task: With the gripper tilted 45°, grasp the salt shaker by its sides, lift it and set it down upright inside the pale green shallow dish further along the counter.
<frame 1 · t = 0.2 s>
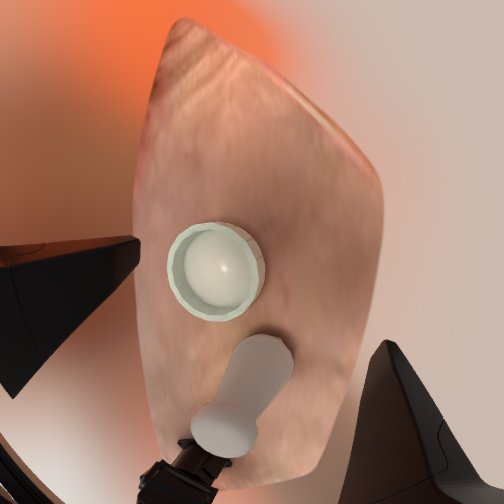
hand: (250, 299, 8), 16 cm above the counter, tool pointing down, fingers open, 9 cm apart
pale green shallow dish: (220, 268, 26), on the counter
salt shaker: (268, 350, 26), on the counter
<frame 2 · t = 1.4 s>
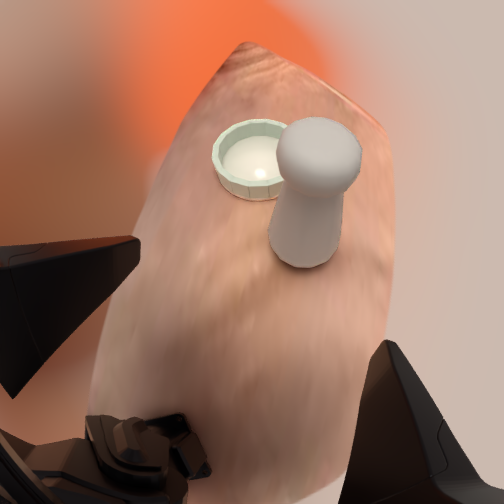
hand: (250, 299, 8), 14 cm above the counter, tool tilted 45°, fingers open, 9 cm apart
pale green shallow dish: (259, 164, 27), on the counter
salt shaker: (301, 244, 24), on the counter
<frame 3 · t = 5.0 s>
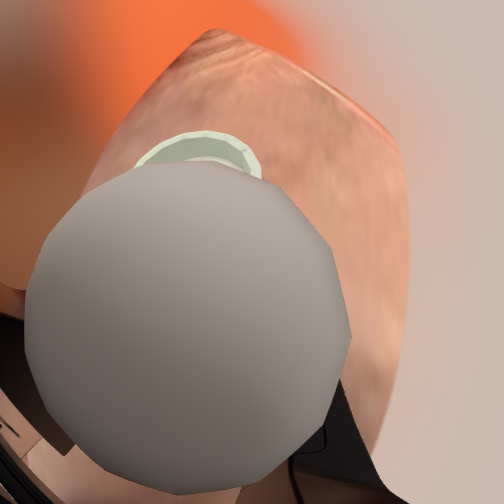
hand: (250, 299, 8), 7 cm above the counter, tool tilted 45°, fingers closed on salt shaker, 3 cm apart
pale green shallow dish: (196, 204, 18), on the counter
salt shaker: (250, 344, 14), on the counter, touching gripper
when the fingers open (8 cm above the counter, at t = 8.5 s): salt shaker stays where it is, resting on pale green shallow dish.
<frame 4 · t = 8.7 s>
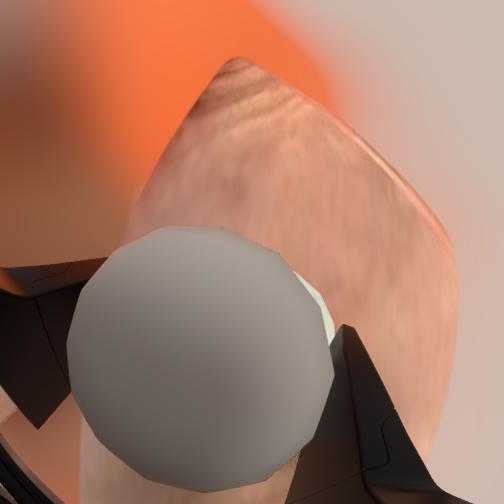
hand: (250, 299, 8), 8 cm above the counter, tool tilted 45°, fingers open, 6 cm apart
pale green shallow dish: (252, 344, 16), on the counter
salt shaker: (254, 351, 15), resting on pale green shallow dish
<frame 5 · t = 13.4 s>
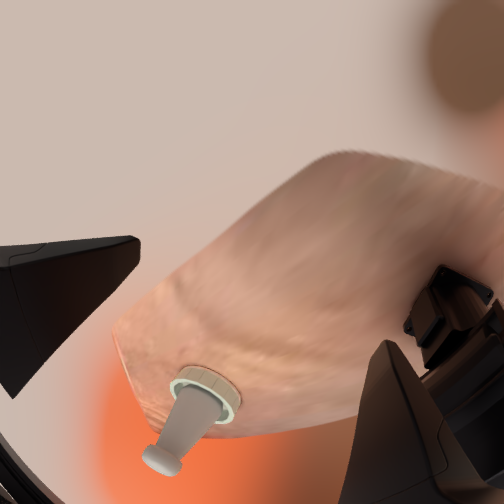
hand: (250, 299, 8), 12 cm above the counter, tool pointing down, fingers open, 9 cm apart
pale green shallow dish: (209, 389, 31), on the counter
salt shaker: (209, 389, 31), resting on pale green shallow dish
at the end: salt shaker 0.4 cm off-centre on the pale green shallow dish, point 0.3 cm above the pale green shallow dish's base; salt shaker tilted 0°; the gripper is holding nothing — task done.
